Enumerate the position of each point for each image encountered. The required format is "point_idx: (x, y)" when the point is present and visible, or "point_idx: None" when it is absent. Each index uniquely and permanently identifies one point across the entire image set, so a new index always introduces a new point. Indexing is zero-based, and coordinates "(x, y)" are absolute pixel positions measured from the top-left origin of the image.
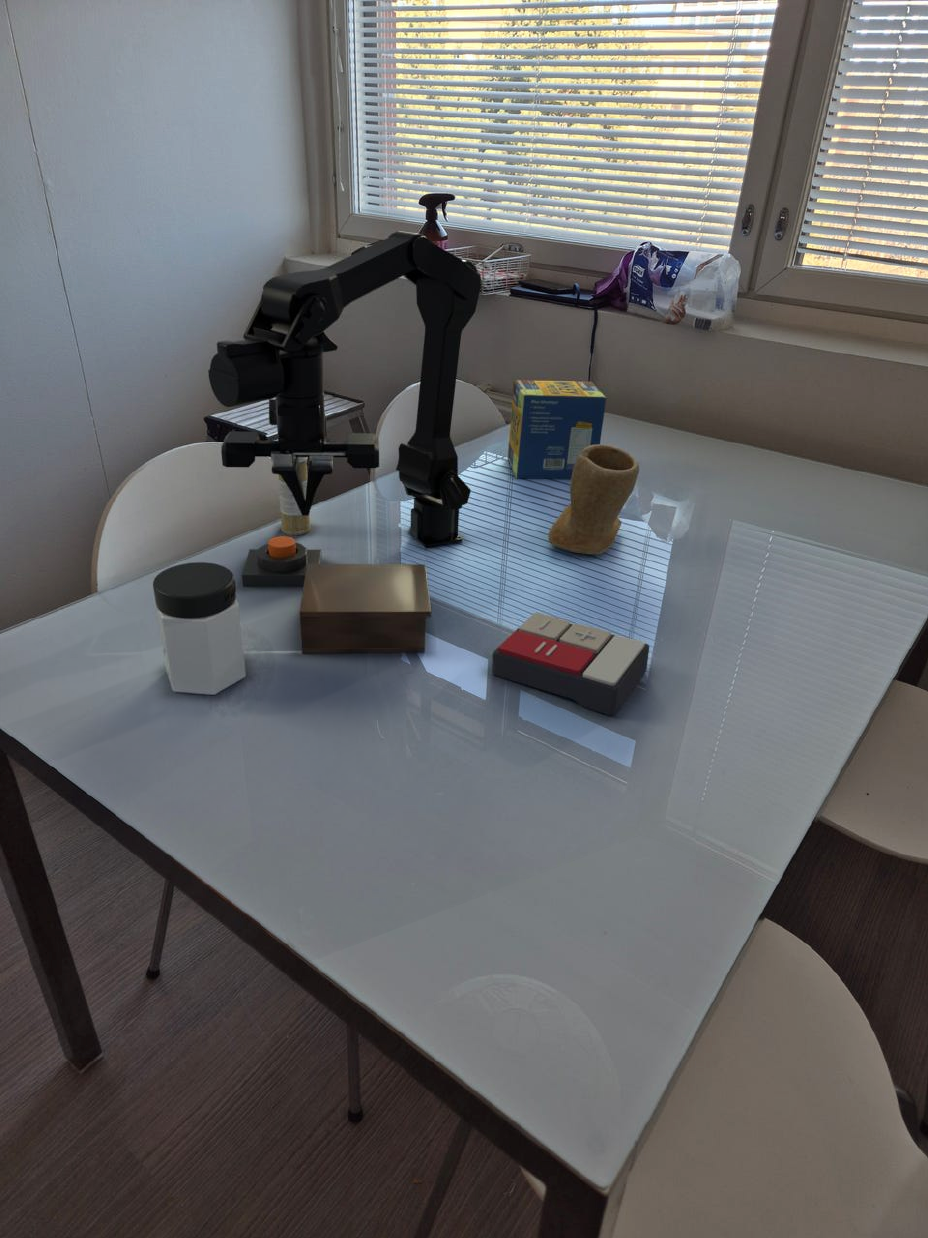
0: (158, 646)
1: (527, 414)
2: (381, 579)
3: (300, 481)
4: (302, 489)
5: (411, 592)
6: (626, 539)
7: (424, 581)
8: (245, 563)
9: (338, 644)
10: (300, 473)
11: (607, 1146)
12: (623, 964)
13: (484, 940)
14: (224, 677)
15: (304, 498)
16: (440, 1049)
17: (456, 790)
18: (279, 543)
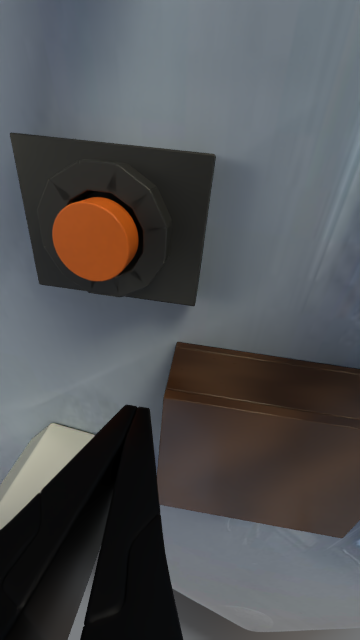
0: (2, 400)
1: None
2: (303, 467)
3: (59, 603)
4: (90, 524)
5: (339, 503)
6: None
7: None
8: (29, 229)
9: None
10: (23, 608)
11: (257, 630)
12: (299, 618)
13: (245, 601)
14: None
15: (115, 464)
16: (215, 611)
17: (266, 564)
18: (86, 256)
